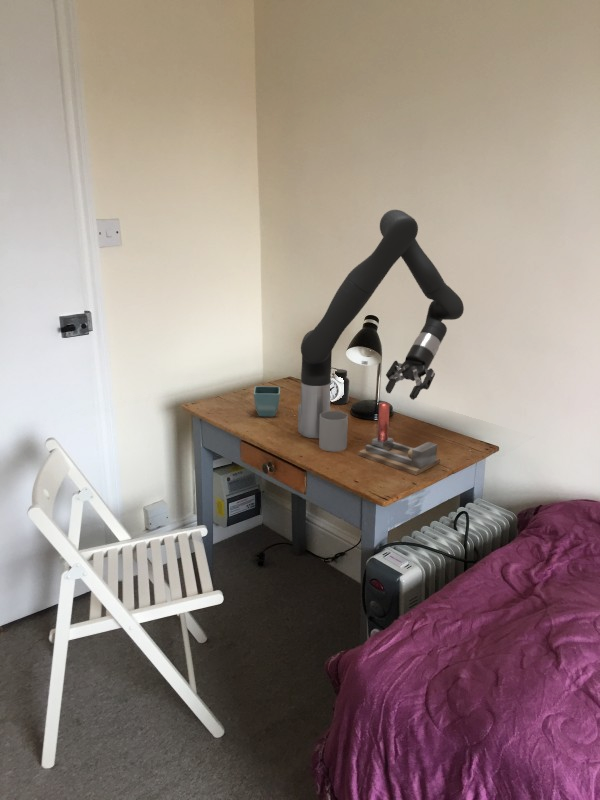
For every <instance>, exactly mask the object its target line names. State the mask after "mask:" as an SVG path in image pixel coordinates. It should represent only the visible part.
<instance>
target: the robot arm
mask: <svg viewBox="0 0 600 800" xmlns="http://www.w3.org/2000/svg"><path fill="white" fill-rule="evenodd" d="M379 231H380V234H381V236H382V239H381V240H380V242H379V243H378V245H377V246H376V248H375V250H373V251H372V253H371V254H370V255H369V256H368V257H367V258H364V260H363V261H361V262H360V263H359V264H358V265H356V266H355V267H354V268H353V269H352V270H350V272H349V273H348V274H347V276H346V277H345V278H344V280H343V281H342V283H341V284H340V285H339V287H338V289H337V291H336V292H335V294H334V296H333V297H332V300H331V301H330V303H329V305H328V307H327V310H326V312H325V313H324V315H323V317H322V319H320V321H319V323H318V324H317V325H316V326H315V327H314V329H312V330H309V331H308V332H306V333H305V334H304V336H303V338H302V341H301V344H300V352H301V373H300V403H298V405H297V406H298V407H297V409H298V411H297V416H298V417H297V421H298V422H297V423H298V425H297V428H298V429H297V430H298V431H297V432H298V433H300V435H301V436H302V437H305V438H308V439H309V438H310V439H319V425H320V414H321V413H323V412H326V411H331V402H330V385H331V379H332V377H331V376H332V351H333V349H334V348H335V346H336V344H337V342H338V340H339V339H340V337H341V336H342V334H343V332H344V331H345V330H346V329H347V327H348V326H349V325H350V324H351V323H352V322H353V320H354V319H355V318H356V317H357V316H358V314H359V313H360V312H361V311H362V309H363V308H364V306H365V305H366V304H367V302H368V301H370V299H371V297H372V296H373V294H374V293H375V291H376V290H377V289H378V287H379V285H380V284H381V283H382V281H383V280H385V279H384V278H385V277H386V276H387V275H388V273H389V271H390V270H391V269H392V267H393V266H394V265H395V264H396V262H397V261H399V259H400V258H401V259H402V260H403V261H404V263H405V265H406V267H407V268H408V270H409V271H410V273H411V274H412V276H413V278H414V280H415V282H416V283H417V285H418V287H419V288H420V290H421V291H422V293H423V295H424V296H425V298H427V299H428V300H432V301H431V302H430V304H429V306H428V310H427V315H426V318H425V323H424V325H423V327H422V329H421V331H420V332H419V334H418V336H417V337H416V338H415V340H414V341H413V343H412V345H411V347H410V349H409V351H408V353H407V355H406V356H405V359H404V361H403V362H402V363H400V362H399V361H398V360H394V361H393V363H392V364H391V366H390V367H389V368H388V370H387V372H386V374H385V376H386V378H387V379H388V381H387V384H386V386H385V391H386V392H387V394H391V393H392V392H393V390H394V388H395V385H396V383H398V382H399V381H403V380H409V381H412V382H414V381H415V385H414V386H413V388H412V390H411V391H410V394H409V398H410V399H411V400H413V401H414V400H415V399H417V398H418V397H419V396H418V395H419V394H420V392H421V391H422V390H429V389H430V387H431V384H432V382H433V379H434V377H435V375H436V373H435V371H434V370H433V368H430V366H431V364H432V362H433V360H434V359H435V356H436V355H437V353H438V351H439V349H440V348H439V347H440V346H441V344H442V342H443V340H444V337H445V336H446V334H447V331H448V328H447V325H446V324H445V323H444V322H442V321H448V320H449V321H453V320H454V321H455V320H458V319H460V318H461V317H462V315H463V314H464V310H465V308H464V303H463V301H462V299H461V297H460V296H459V295H458V294H457V293H456V292H455V290H453V289H452V288H451V287H450V286H449V285H447V283H446V281H445V280H444V279H443V277H442V275H441V273H440V272H439V270H438V269H437V267H436V265H435V264H434V263H433V262H432V261H431V259H430V258H429V257H428V255H427V254H426V253H425V252H424V249H422V248H421V246H420V244H419V242H418V240H417V239H416V238H417V236H418V233H419V232H418V231H419V226H418V223H417V221H416V219H415V218H414V217H412V215H411V216H410V215H409V214H408V213H406V212H405V211H403V210H401V209H391V210H388V211H387V212H385V213H384V214H383V216H382V217H381V218H380V220H379ZM424 376H425V377H424ZM422 377H424V379H422Z"/></svg>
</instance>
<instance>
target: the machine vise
mask: <svg viewBox="0 0 600 800" xmlns="http://www.w3.org/2000/svg"><path fill="white" fill-rule="evenodd" d="M437 450H438V444H437V443H434V442H430V441H426V442H425V443H422V444H420V445H419V446H416V447H411V446H408V445H404V444H402V443H398V442H395V441H393V448H392V449H390V450H387V451H386V450H383V449H380V448H377V447H374V446H372V444H366V445H365V448H363V449H361V450H358V456H359V457H362V458H363V457H364V458H366V459H368V460H371V461H374V462H377V463H380V464H383V465H385V466H389V467H392V468H395V469H397V470H399V471H402V472H405V473H409V474H412V475H414V476H417V475H419V474H421V473H423V472H425V471H426V470H429V469H430V468H432V467H434V466H436V465H437V464H438V465H439V463H440V461H441V458H438V457H437Z"/></svg>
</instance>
